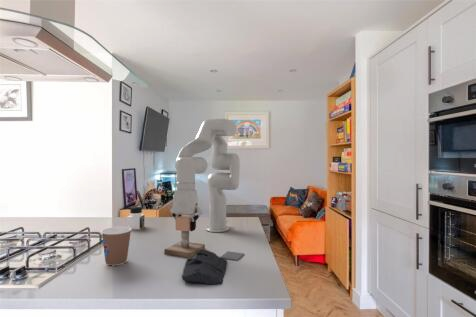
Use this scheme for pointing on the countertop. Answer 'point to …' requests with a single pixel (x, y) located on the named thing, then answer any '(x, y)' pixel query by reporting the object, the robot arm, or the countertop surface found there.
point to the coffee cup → (116, 244)
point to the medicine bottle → (135, 218)
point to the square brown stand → (184, 247)
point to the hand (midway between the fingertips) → (185, 229)
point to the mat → (232, 255)
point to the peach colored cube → (183, 223)
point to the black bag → (205, 268)
